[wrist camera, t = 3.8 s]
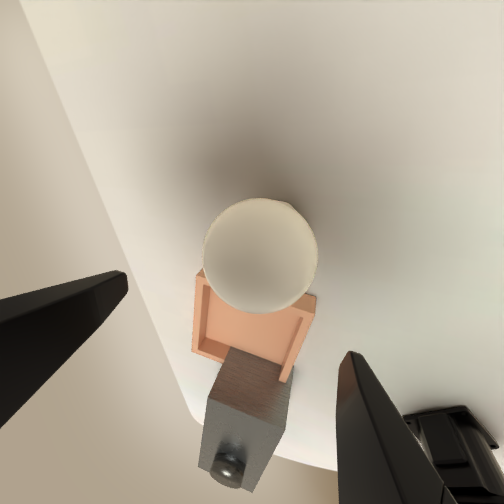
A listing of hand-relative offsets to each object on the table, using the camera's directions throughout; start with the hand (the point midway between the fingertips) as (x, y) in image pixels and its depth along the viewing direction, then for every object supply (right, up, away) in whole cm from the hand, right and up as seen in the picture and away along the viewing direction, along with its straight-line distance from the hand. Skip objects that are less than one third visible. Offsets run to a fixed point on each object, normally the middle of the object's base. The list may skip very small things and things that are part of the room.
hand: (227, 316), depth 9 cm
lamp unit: (+1, -18, +24) cm, 30 cm away
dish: (+1, -5, +17) cm, 18 cm away
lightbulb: (+4, +6, +11) cm, 13 cm away
